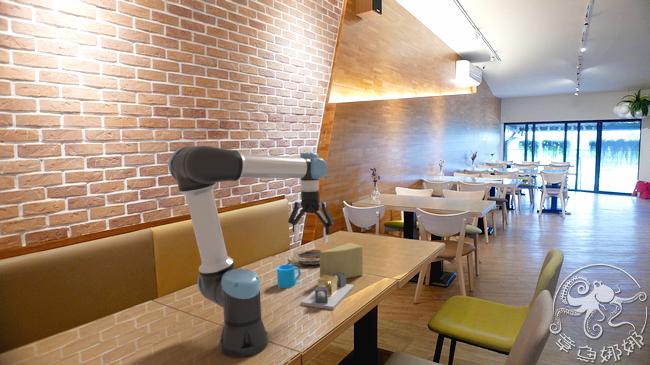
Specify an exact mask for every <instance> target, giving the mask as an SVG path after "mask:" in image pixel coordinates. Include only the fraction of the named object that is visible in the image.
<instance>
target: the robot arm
mask: <svg viewBox="0 0 650 365" xmlns="http://www.w3.org/2000/svg"><path fill="white" fill-rule="evenodd" d="M168 170H169V173H170V175H171V176H172V178H173V179H174V180H176V182H177V187H178V191H179V192H180V194H182V195H184V196H185V199H186V203H187V207H188V211H189V215H190V219H191V223H192V228H193V231H194V235H195V240H196V244H197V248H198V252H199V257H200V261H201V264H200V265H199V267H198V272H199V275H198V277H197V281H196V282H197V289H198V291H199V293H200V294H201V295H202V296H203V297H204V298H206V299H207V300H209V301H211V302H212V303H214V304H216V305H218V306H220V308H222V309H223V320H224V321H223V323H224V324H223V327H222V328H223V329H222V331H221V336H220V340H219V349H220V350H219V351H220V352H221V353H222V354H223V355H224V356H227V357H230V358H231V357H232V358H244V357H245V358H247V357H249V356H253V355H255V354H258V353H260V352H262V351H263V350H265V349H266V348H267V346H268V344H269V335H268V332H267V330H266V328H265V324H264V323H263V320H262V307H261V306H262V304H261V303H262V302H261V284H260V278H259V275H258V274H257V273H256V271H253V270H251V269H244V268H235V263H234V259H233V258H232V257H230V256H228V252H227V248H226V243H225V239H224V235H223V230H222V225H221V221H220V217H219V213H218V207H217V203H216V199H215V194H214V191H213V190H214V188H215V186H216V185H217V183H221V182H222V183H223V182H237V181H240V179H300V190H301V191H300V200H301V202H300V201H299V200H298V201H294V205H293V209H292V212H291V214H290V215H289V219H288V221H287V222H288V224H291V225H292V232H293V233H294V234H293V236H294V241H298V240H300V224H299V221H300V220H301V219H302V217H303V216H304V215H305V214H314V215H316V216H317V217H318V219H319V220H320V221H321V224H323V225H324V226H323V227H322V228H323V244H327V243H329V235H330V233H331V227H332V226H334V225H335V222H334V220H333V218H332V216H331V213H330V211H329V209H328V205H327V202H325V201H324V202H320V179H323V178H324V177H326V176H327V174H328V163H327V162H326V161H325V159H323V158H321V157H319V153H317V152H301V153H300V156H299V157H298V156H297V157H296V156H282V155H281V156H280V155H266V154H252V153H251V154H249V153H241V152H240V151H239V150H237V149H227V148H221V147H217V146H216V147H215V146H211V145H191V146H184V147H181V148H178V149H177V150H175V151H174V152H173V153H172V155H171V156H170V158H169V160H168ZM300 207H301V208H302V209H300ZM320 208H321V209H320ZM299 209H300V211H299ZM322 212H323V213H322Z"/></svg>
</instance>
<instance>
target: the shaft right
mask: <svg viewBox="0 0 650 365" xmlns="http://www.w3.org/2000/svg"><path fill="white" fill-rule="evenodd" d="M332 276H337V287H340V288H341V287H343V286H346V284H347V278H346V274H344V273H341V272H335V273H333V274H332Z"/></svg>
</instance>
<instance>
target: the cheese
mask: <svg viewBox="0 0 650 365" xmlns="http://www.w3.org/2000/svg"><path fill="white" fill-rule="evenodd" d="M321 251H322V252H321V254H320V266H319V278H321V277H322V276H323V275H330V276H332V274H333V273H335V272H341V273H344V274H346V279H350V278H355V277H358V276H359V277H360V276H363V272H364V271H363V268H364V266H363V262H364V260H363V246H362V245H359V244H356V243H353V242H352V243H351V242H348V243H345V244H342V245H338V246H334V247H333V248H329V249H325V250H321Z"/></svg>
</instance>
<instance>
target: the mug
mask: <svg viewBox="0 0 650 365" xmlns="http://www.w3.org/2000/svg"><path fill="white" fill-rule="evenodd" d="M276 270H277V271H276V278H277V286H278V287H279V288H282V289H286V288H288V289H289V288H292V287H293V288H294V286H296V281H297V280H298V279H300V277H301V273H302V272H301V269H300V268H299V267H297V266H296V265H289V264H282V265H281V264H280V265H278V266H277V267H276ZM296 270H297V272H298V274H297V276H296Z"/></svg>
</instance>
